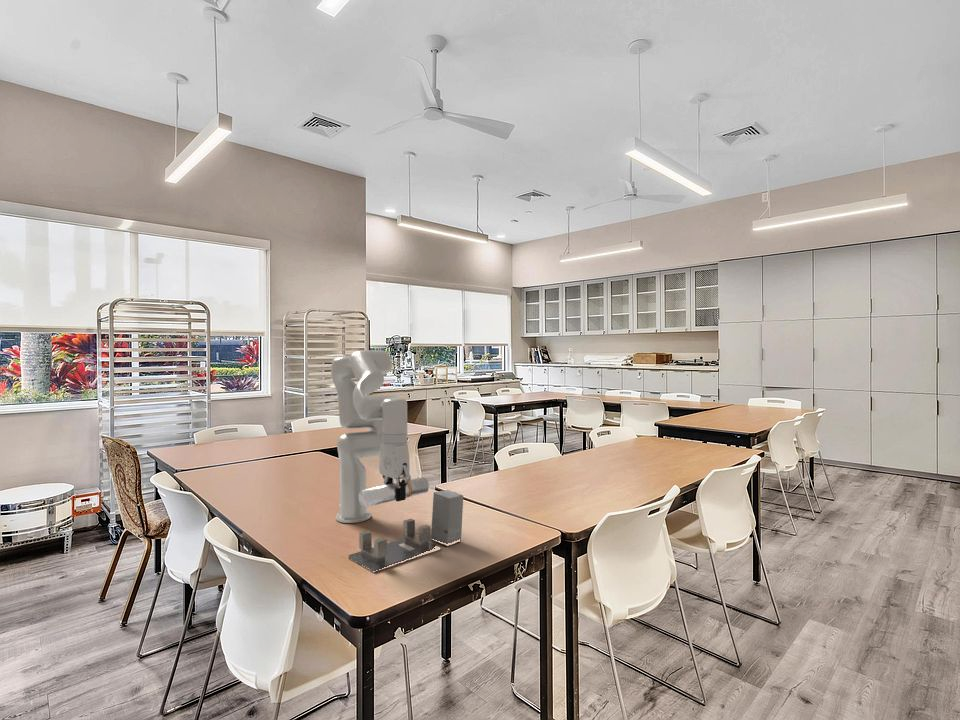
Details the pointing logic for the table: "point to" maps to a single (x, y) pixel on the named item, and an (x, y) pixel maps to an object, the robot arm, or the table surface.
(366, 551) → the plate with corner blocks
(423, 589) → the table surface
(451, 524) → the skincare box
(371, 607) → the table surface
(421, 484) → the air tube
